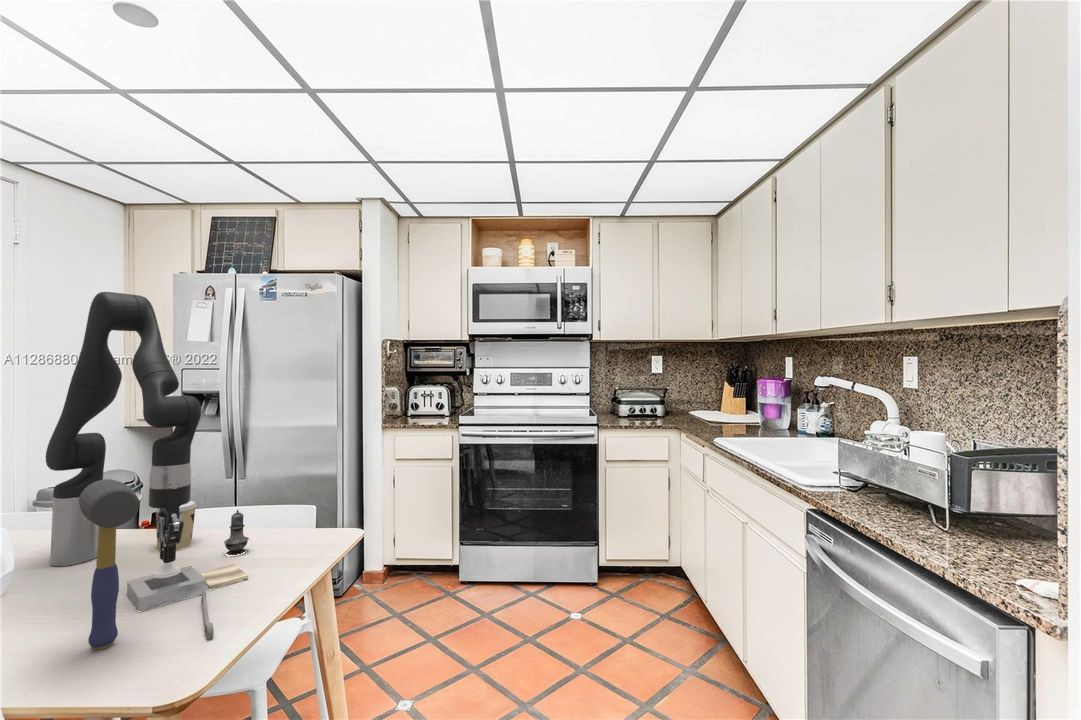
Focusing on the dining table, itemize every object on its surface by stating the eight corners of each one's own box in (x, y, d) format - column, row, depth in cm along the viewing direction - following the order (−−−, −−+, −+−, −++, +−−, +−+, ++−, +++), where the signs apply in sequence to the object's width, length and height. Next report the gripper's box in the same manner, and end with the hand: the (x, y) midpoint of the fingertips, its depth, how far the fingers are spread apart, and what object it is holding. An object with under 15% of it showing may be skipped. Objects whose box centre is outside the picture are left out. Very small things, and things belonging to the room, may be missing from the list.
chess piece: (150, 579, 106) (152, 534, 106) (156, 571, 110) (158, 527, 111) (178, 575, 108) (180, 531, 109) (182, 567, 113) (184, 524, 113)
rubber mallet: (69, 642, 89) (76, 480, 90) (122, 626, 95) (128, 474, 96) (80, 669, 81) (87, 491, 82) (137, 650, 87) (143, 484, 88)
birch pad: (196, 577, 118) (196, 573, 118) (233, 568, 124) (233, 564, 124) (209, 590, 111) (209, 585, 111) (248, 579, 117) (248, 575, 117)
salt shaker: (236, 558, 131) (238, 513, 131) (218, 556, 132) (219, 511, 132) (253, 550, 136) (254, 507, 137) (235, 548, 138) (237, 506, 138)
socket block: (126, 594, 108) (127, 581, 109) (190, 577, 118) (191, 565, 118) (138, 612, 101) (139, 597, 101) (205, 593, 110) (206, 579, 110)
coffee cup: (200, 545, 139) (202, 503, 140) (161, 555, 132) (163, 510, 132) (186, 538, 144) (187, 498, 145) (148, 548, 137) (149, 505, 137)
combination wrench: (214, 623, 91) (208, 583, 107) (205, 625, 91) (201, 584, 106) (213, 643, 91) (207, 600, 107) (204, 645, 90) (200, 601, 106)
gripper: (142, 481, 112) (139, 557, 111) (157, 491, 103) (154, 573, 102) (182, 476, 117) (179, 548, 117) (199, 485, 108) (196, 563, 108)
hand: (167, 559), depth 109 cm, fingers closed on chess piece
